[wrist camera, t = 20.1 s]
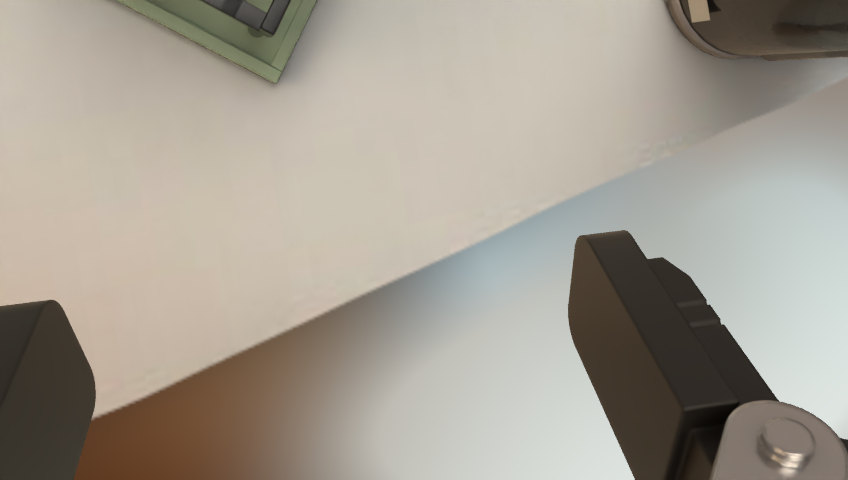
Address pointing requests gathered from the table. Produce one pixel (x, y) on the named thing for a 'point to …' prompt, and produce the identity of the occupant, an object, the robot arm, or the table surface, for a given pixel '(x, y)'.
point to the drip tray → (231, 31)
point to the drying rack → (253, 15)
